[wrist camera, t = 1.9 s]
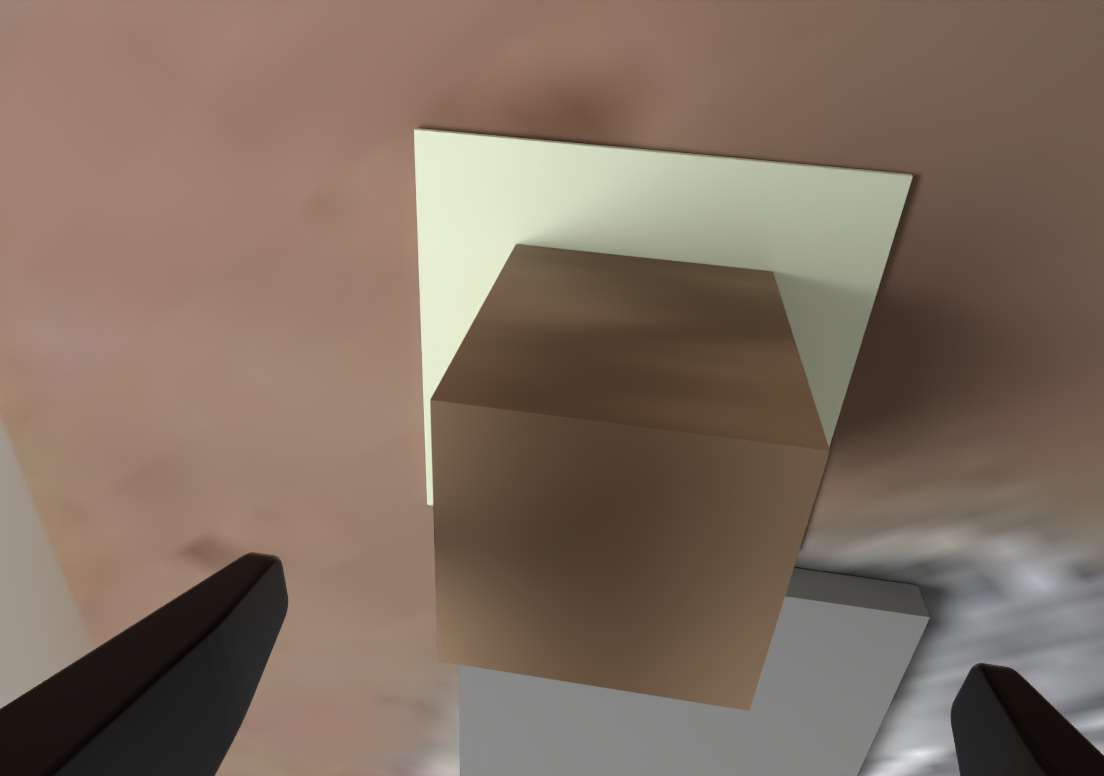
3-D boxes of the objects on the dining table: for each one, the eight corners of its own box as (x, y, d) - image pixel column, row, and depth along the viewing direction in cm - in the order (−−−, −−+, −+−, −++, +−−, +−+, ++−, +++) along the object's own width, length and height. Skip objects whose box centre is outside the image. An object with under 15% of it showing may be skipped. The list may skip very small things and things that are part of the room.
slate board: (917, 585, 18) (930, 617, 17) (816, 818, 23) (821, 852, 22) (468, 521, 19) (458, 548, 18) (467, 758, 24) (459, 788, 23)
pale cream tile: (910, 173, 13) (913, 176, 13) (794, 552, 18) (795, 556, 17) (416, 128, 14) (413, 129, 14) (429, 500, 18) (426, 505, 18)
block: (773, 271, 14) (829, 451, 9) (726, 479, 17) (749, 710, 12) (516, 243, 15) (429, 399, 9) (508, 449, 17) (438, 660, 12)
